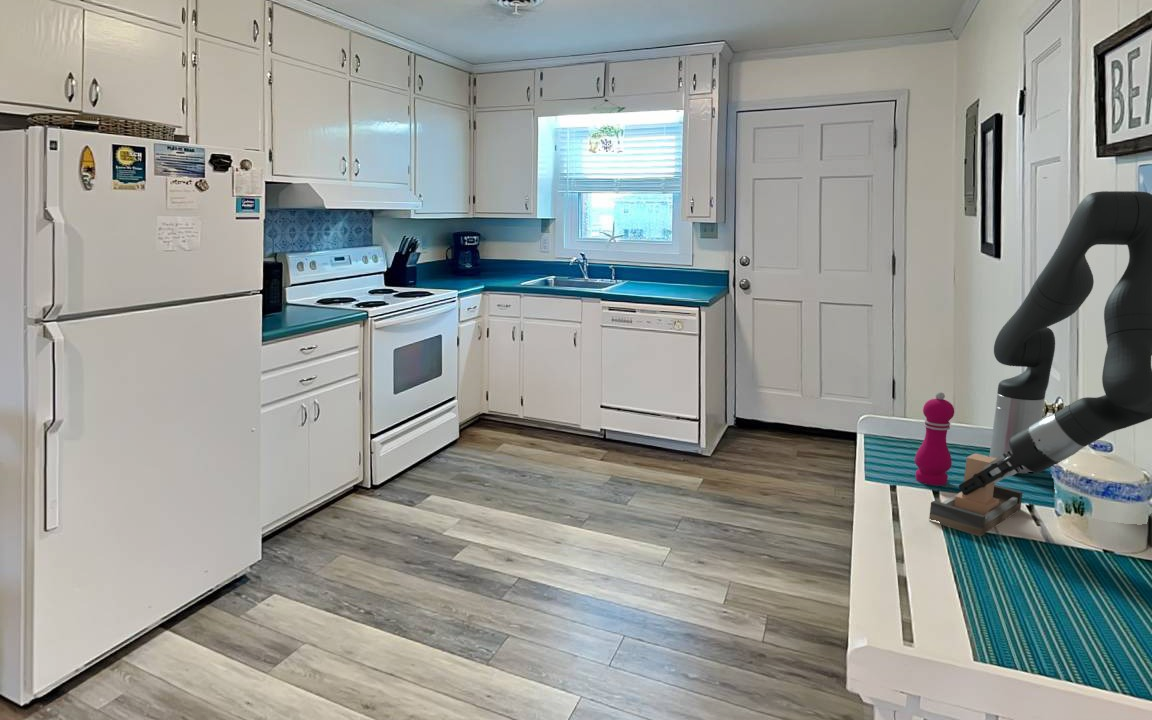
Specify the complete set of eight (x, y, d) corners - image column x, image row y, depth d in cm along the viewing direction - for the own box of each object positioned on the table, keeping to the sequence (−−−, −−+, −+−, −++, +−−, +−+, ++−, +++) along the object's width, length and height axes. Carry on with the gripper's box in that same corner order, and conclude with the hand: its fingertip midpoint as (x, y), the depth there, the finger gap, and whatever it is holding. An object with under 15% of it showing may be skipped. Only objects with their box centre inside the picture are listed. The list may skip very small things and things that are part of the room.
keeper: (964, 499, 138) (970, 451, 136) (998, 509, 134) (1004, 459, 132) (954, 506, 135) (959, 456, 133) (987, 515, 130) (994, 464, 129)
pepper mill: (954, 487, 149) (964, 396, 146) (917, 484, 151) (927, 394, 147) (943, 476, 156) (953, 389, 153) (909, 473, 158) (917, 387, 154)
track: (971, 496, 145) (973, 479, 144) (1020, 509, 138) (1022, 491, 137) (929, 520, 132) (931, 502, 131) (980, 536, 125) (982, 517, 124)
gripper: (1045, 418, 130) (968, 463, 141) (1017, 431, 121) (938, 479, 132) (1075, 452, 127) (994, 496, 138) (1049, 468, 118) (964, 514, 129)
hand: (967, 487), depth 135 cm, fingers closed on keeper, 4 cm apart
